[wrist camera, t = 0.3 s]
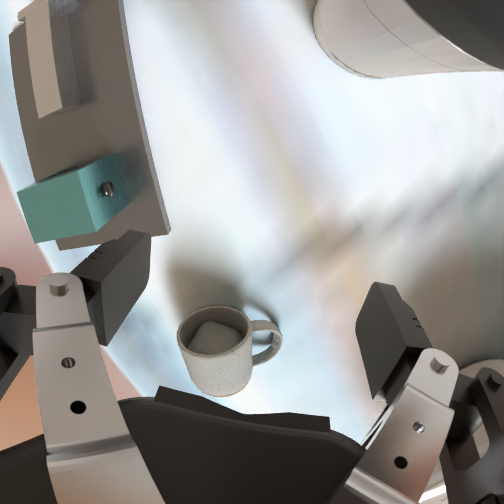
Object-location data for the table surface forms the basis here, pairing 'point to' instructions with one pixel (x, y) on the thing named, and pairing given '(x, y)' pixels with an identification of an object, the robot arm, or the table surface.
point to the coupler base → (85, 106)
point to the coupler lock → (73, 201)
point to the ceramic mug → (223, 348)
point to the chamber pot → (435, 491)
